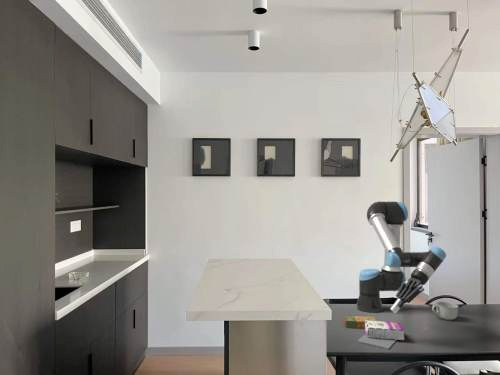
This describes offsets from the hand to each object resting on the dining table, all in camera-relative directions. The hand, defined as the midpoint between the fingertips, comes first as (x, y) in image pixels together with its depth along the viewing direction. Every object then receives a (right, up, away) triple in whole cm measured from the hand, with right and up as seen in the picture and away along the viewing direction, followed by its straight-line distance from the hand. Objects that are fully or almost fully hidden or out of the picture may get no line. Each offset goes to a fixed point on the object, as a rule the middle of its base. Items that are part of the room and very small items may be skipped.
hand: (393, 311), depth 172 cm
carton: (-10, -14, +18) cm, 25 cm away
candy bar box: (+5, -10, +2) cm, 12 cm away
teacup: (+41, -15, +32) cm, 54 cm away
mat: (-8, -13, -2) cm, 15 cm away
